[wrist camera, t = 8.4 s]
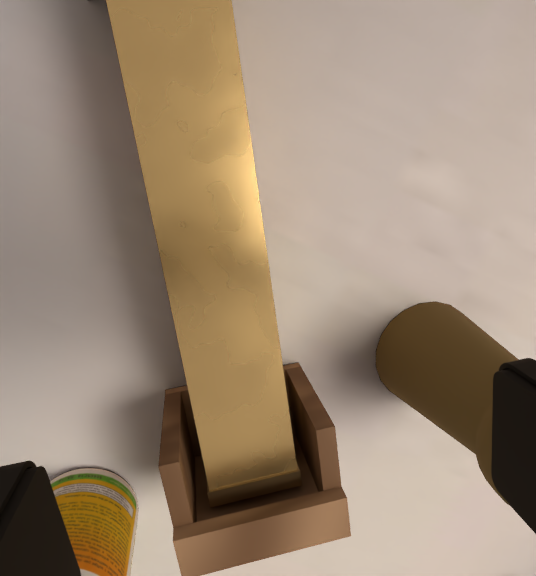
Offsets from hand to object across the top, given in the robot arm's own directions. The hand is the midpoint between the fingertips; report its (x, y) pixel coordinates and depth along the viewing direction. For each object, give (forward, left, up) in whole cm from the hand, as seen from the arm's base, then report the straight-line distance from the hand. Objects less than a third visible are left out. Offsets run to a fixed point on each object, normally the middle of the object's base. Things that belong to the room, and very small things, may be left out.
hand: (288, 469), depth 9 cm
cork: (-11, +6, -14) cm, 19 cm away
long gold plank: (0, -4, -14) cm, 15 cm away
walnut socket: (0, +7, -14) cm, 16 cm away
